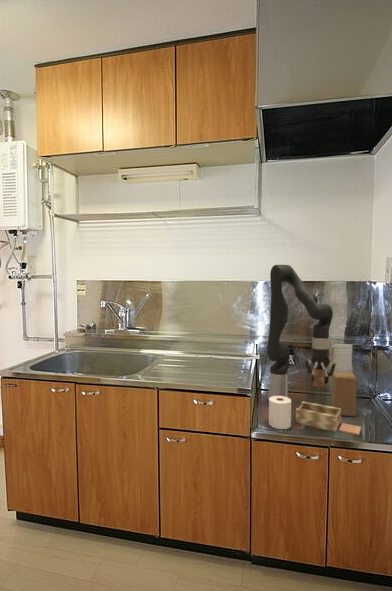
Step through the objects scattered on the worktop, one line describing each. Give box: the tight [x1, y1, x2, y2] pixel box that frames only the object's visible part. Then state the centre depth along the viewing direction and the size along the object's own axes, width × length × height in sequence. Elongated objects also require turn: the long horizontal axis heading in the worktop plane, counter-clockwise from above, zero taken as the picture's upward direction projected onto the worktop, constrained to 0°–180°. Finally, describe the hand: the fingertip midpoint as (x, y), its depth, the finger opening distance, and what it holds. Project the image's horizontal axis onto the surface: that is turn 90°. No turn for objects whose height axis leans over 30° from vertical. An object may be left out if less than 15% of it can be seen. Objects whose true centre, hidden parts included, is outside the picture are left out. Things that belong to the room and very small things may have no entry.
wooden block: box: [330, 370, 357, 417], centre depth 175 cm, size 10×10×20 cm
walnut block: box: [313, 367, 327, 388], centre depth 162 cm, size 4×5×8 cm
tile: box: [338, 422, 362, 436], centre depth 156 cm, size 8×8×1 cm
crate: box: [295, 401, 342, 433], centre depth 163 cm, size 18×12×7 cm, turn 58°
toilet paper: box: [268, 396, 292, 430], centre depth 162 cm, size 10×10×12 cm
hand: (320, 382), depth 162 cm, fingers closed on walnut block, 4 cm apart
